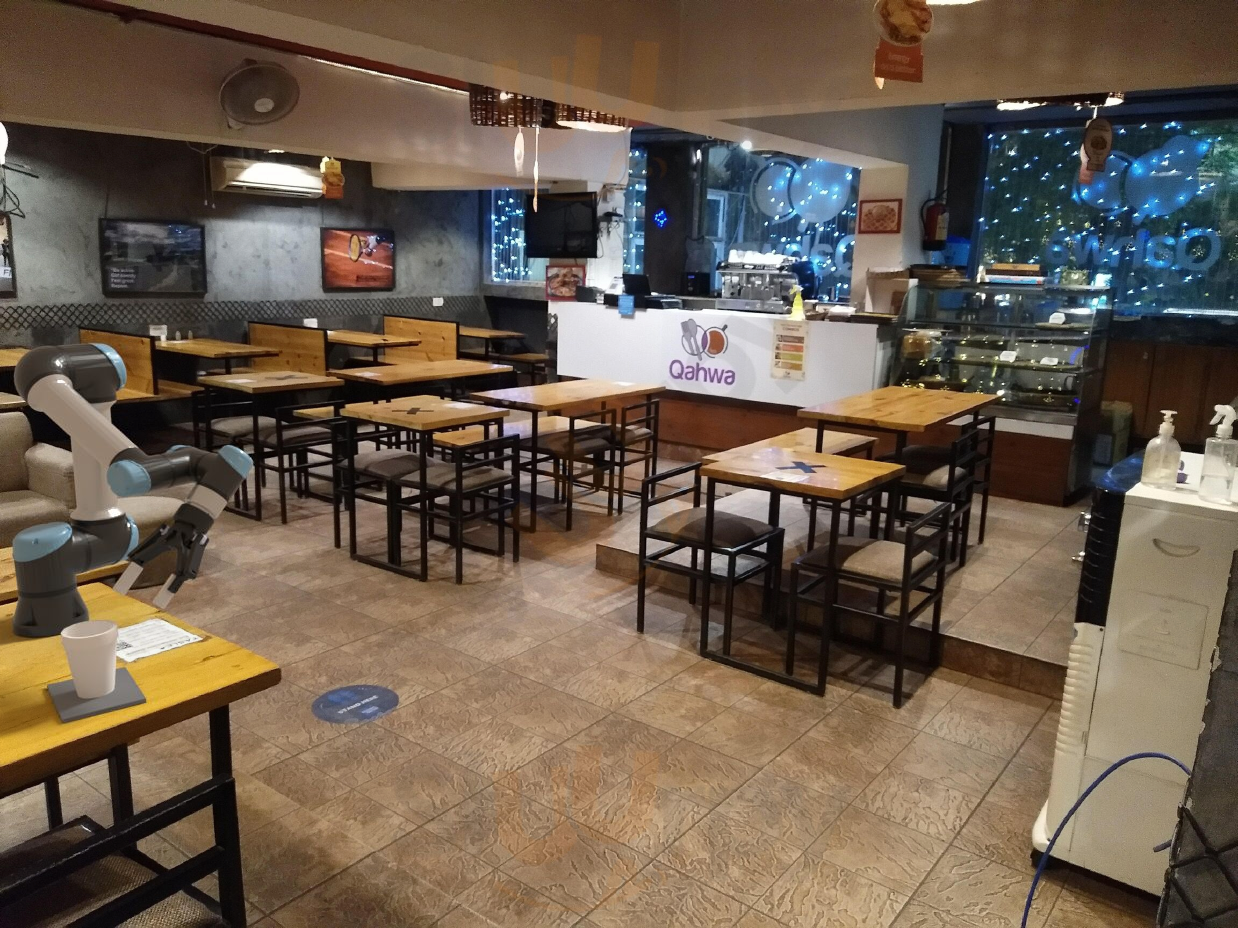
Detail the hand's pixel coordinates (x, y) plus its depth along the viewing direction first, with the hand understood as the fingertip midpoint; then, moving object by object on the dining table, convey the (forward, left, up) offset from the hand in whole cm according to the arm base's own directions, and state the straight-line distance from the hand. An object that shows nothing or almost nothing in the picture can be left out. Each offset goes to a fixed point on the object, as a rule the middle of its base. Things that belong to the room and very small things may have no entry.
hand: (137, 599), depth 182 cm
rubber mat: (+3, -9, -17) cm, 20 cm away
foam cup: (+3, -9, -16) cm, 19 cm away
